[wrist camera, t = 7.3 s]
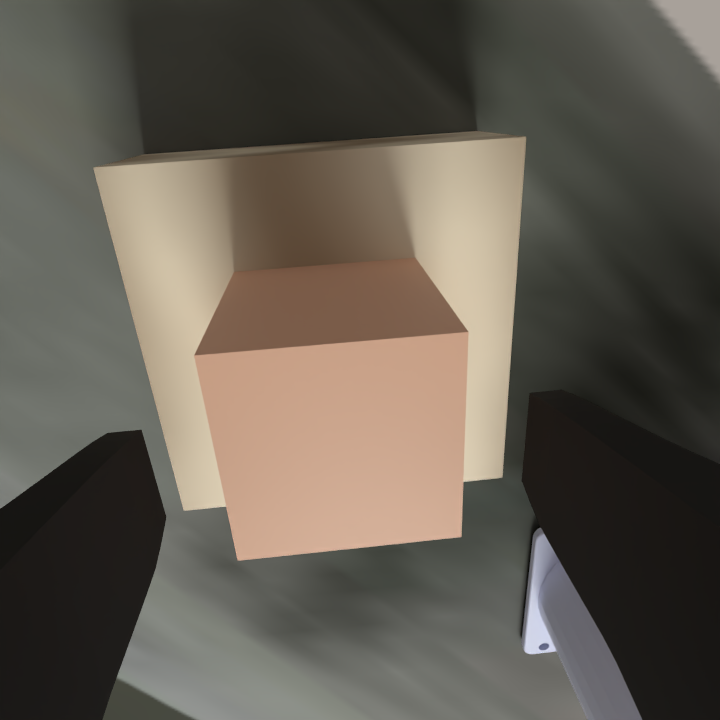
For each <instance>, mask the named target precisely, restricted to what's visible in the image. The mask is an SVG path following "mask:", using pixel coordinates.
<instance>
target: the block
mask: <svg viewBox="0 0 720 720" xmlns="http://www.w3.org/2000/svg"><path fill="white" fill-rule="evenodd" d="M468 334H469V332H468V330H467V329H466V328H465V326H464V325H463V323H462V322H461V321H460V319H459V318H458V316H457V315H456V314H455V312H454V311H453V309H452V308H451V307H450V305H449V304H448V302H447V301H446V300H445V298H444V297H443V295H442V294H441V293H440V291H439V290H438V288H437V287H436V286H435V284H434V283H433V281H432V280H431V279H430V277H429V276H428V274H427V273H426V272H425V270H424V269H423V267H422V266H421V265H420V263H419V262H418V260H417V259H416V258H406V259H393V260H380V261H367V262H354V263H342V264H329V265H316V266H303V267H290V268H277V269H265V270H252V271H239V272H234V273H233V275H232V277H231V279H230V281H229V283H228V285H227V288H226V290H225V292H224V294H223V296H222V298H221V300H220V302H219V304H218V306H217V308H216V311H215V313H214V315H213V317H212V319H211V321H210V323H209V325H208V327H207V329H206V331H205V334H204V336H203V338H202V340H201V342H200V344H199V346H198V348H197V350H196V352H195V355H194V358H195V363H196V367H197V372H198V377H199V381H200V386H201V391H202V395H203V400H204V405H205V409H206V414H207V419H208V423H209V428H210V433H211V437H212V442H213V447H214V452H215V456H216V461H217V466H218V470H219V475H220V480H221V484H222V489H223V494H224V498H225V503H226V508H227V512H228V517H229V522H230V526H231V531H232V536H233V541H234V545H235V550H236V555H237V559H238V561H240V560H249V559H258V558H268V557H277V556H287V555H296V554H305V553H315V552H324V551H334V550H343V549H352V548H362V547H371V546H381V545H390V544H399V543H409V542H418V541H428V540H437V539H447V538H456V537H461V532H462V504H463V476H464V447H465V419H466V391H467V362H468Z"/></svg>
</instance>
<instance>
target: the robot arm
mask: <svg viewBox="0 0 720 720" xmlns="http://www.w3.org/2000/svg"><path fill="white" fill-rule="evenodd" d="M522 482H523V485H524V487H525V490H526V493H527V495H528V498H529V500H530V503H531V506H532V508H533V510H534V513H535V515H536V518H537V520H538V522H539V525H540V528H539V529H537V530H536V531H535V532H534V535H533V541H532V550H531V559H530V568H529V578H528V587H527V596H526V605H525V614H524V624H523V633H522V642H521V643H522V647H523V649H524V651H525V652H526V653H529V654H537V653H546V652H554V651H557V653H558V656H559V658H560V660H561V662H562V664H563V667H564V669H565V671H566V673H567V675H568V678H569V680H570V682H571V684H572V686H573V689H574V691H575V693H576V695H577V697H578V700H579V702H580V704H581V706H582V708H583V711H584V713H585V715H586V717H587V719H588V720H720V464H718V463H716V462H713V461H711V460H709V459H706V458H704V457H702V456H700V455H697V454H695V453H693V452H691V451H688V450H686V449H684V448H682V447H680V446H678V445H676V444H673V443H671V442H669V441H667V440H665V439H663V438H661V437H659V436H657V435H655V434H653V433H651V432H649V431H647V430H645V429H643V428H640V427H638V426H636V425H634V424H632V423H630V422H628V421H626V420H624V419H622V418H621V417H619V416H617V415H615V414H613V413H611V412H609V411H607V410H605V409H603V408H601V407H599V406H597V405H594V404H592V403H590V402H588V401H586V400H584V399H582V398H580V397H578V396H575V395H573V394H571V393H568V392H566V391H563V390H556V391H545V392H535V393H530V395H529V406H528V418H527V429H526V440H525V451H524V462H523V473H522ZM165 521H166V515H165V511H164V508H163V504H162V500H161V497H160V493H159V490H158V486H157V483H156V479H155V476H154V472H153V469H152V465H151V462H150V458H149V455H148V451H147V448H146V444H145V441H144V437H143V434H142V430H135V431H124V432H114V433H107V434H105V435H103V436H102V437H100V438H98V439H97V440H95V441H94V442H92V443H91V444H89V445H88V446H86V447H85V448H84V449H82V450H81V451H79V452H78V453H77V454H75V455H74V456H72V457H71V458H70V459H68V460H67V461H66V462H64V463H63V464H61V465H60V466H59V467H57V468H56V469H55V470H53V471H52V472H51V473H49V474H48V475H46V476H45V477H44V478H42V479H41V480H40V481H38V482H37V483H35V484H34V485H33V486H31V487H30V488H29V489H27V490H26V491H25V492H23V493H22V494H20V495H19V496H18V497H16V498H15V499H14V500H12V501H11V502H9V503H8V504H7V505H5V506H4V507H2V508H1V509H0V720H102V719H103V716H104V713H105V710H106V707H107V703H108V700H109V697H110V694H111V691H112V689H113V686H114V683H115V680H116V678H117V675H118V672H119V669H120V667H121V664H122V661H123V658H124V656H125V653H126V650H127V647H128V644H129V642H130V639H131V636H132V633H133V631H134V628H135V625H136V622H137V620H138V617H139V614H140V611H141V609H142V606H143V603H144V600H145V597H146V594H147V592H148V589H149V586H150V583H151V580H152V577H153V574H154V571H155V568H156V564H157V560H158V555H159V551H160V547H161V542H162V537H163V532H164V526H165Z"/></svg>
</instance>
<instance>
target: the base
mask: <svg viewBox="0 0 720 720" xmlns="http://www.w3.org/2000/svg"><path fill="white" fill-rule="evenodd" d="M525 147H526V137H524V136H515V135H507V134H499V133H490V132H482V131H470V132H456V133H441V134H427V135H413V136H399V137H384V138H370V139H356V140H342V141H328V142H313V143H299V144H285V145H271V146H256V147H242V148H228V149H214V150H199V151H185V152H171V153H157V154H143V155H140V156H136V157H132V158H128V159H124V160H120V161H117V162H113V163H109V164H105V165H101V166H97V167H94V172H95V176H96V180H97V184H98V187H99V191H100V195H101V199H102V202H103V206H104V210H105V214H106V218H107V221H108V225H109V229H110V233H111V237H112V240H113V244H114V248H115V252H116V255H117V259H118V263H119V267H120V271H121V274H122V278H123V282H124V286H125V289H126V293H127V297H128V301H129V305H130V308H131V312H132V316H133V320H134V324H135V327H136V331H137V335H138V339H139V342H140V346H141V350H142V354H143V358H144V361H145V365H146V369H147V373H148V376H149V380H150V384H151V388H152V392H153V395H154V399H155V403H156V407H157V411H158V414H159V418H160V422H161V426H162V429H163V433H164V437H165V441H166V445H167V448H168V452H169V456H170V460H171V463H172V467H173V471H174V475H175V479H176V482H177V486H178V490H179V494H180V498H181V501H182V505H183V509H184V511H187V510H196V509H206V508H215V507H225V506H226V503H225V498H224V494H223V489H222V484H221V480H220V475H219V470H218V466H217V461H216V456H215V452H214V447H213V442H212V437H211V433H210V428H209V423H208V419H207V414H206V409H205V405H204V400H203V395H202V391H201V386H200V381H199V377H198V372H197V367H196V363H195V358H194V355H195V352H196V350H197V348H198V346H199V344H200V342H201V340H202V338H203V336H204V334H205V331H206V329H207V327H208V325H209V323H210V321H211V319H212V317H213V315H214V313H215V311H216V308H217V306H218V304H219V302H220V300H221V298H222V296H223V294H224V292H225V290H226V288H227V285H228V283H229V281H230V279H231V277H232V275H233V273H234V272H239V271H252V270H265V269H277V268H290V267H303V266H316V265H329V264H342V263H354V262H367V261H380V260H393V259H406V258H416V259H417V260H418V262H419V263H420V265H421V266H422V267H423V269H424V270H425V272H426V273H427V274H428V276H429V277H430V279H431V280H432V281H433V283H434V284H435V286H436V287H437V288H438V290H439V291H440V293H441V294H442V295H443V297H444V298H445V300H446V301H447V302H448V304H449V305H450V307H451V308H452V309H453V311H454V312H455V314H456V315H457V316H458V318H459V319H460V321H461V322H462V323H463V325H464V326H465V328H466V329H467V330H468V332H469V334H468V362H467V391H466V419H465V447H464V476H463V482H466V481H475V480H485V479H494V478H502V474H503V460H504V446H505V432H506V417H507V403H508V389H509V375H510V360H511V346H512V332H513V318H514V304H515V289H516V275H517V261H518V247H519V232H520V218H521V204H522V190H523V176H524V161H525Z"/></svg>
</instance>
